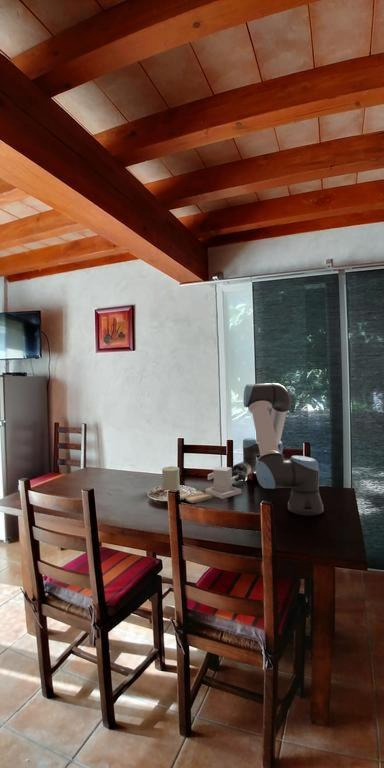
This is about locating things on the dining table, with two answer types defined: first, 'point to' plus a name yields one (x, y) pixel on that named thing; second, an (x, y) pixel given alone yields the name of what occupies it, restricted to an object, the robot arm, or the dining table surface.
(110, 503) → the dining table surface
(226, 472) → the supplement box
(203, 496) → the pad
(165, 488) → the can
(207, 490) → the white flat square frame
